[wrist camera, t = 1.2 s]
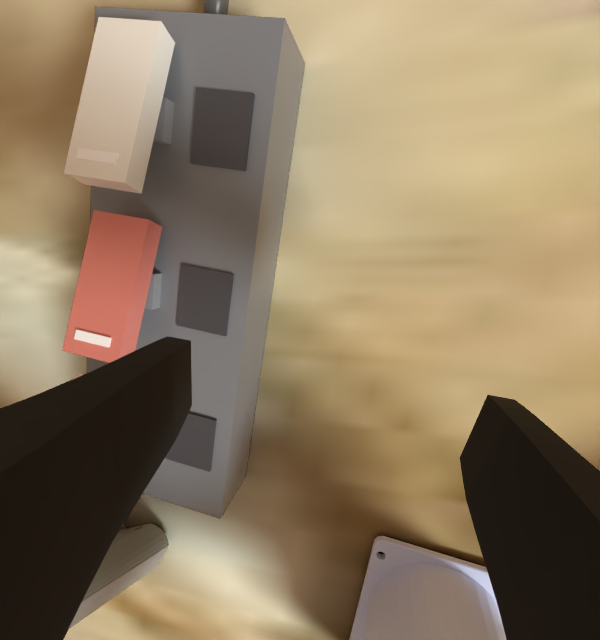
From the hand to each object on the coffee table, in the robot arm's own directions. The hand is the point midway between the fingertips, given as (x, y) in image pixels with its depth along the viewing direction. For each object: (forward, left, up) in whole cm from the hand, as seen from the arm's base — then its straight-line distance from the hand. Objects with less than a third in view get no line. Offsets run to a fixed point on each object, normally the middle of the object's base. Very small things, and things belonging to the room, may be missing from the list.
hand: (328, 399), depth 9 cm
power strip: (+2, +9, -10) cm, 14 cm away
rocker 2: (0, +10, -5) cm, 12 cm away
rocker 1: (+7, +10, -5) cm, 14 cm away
